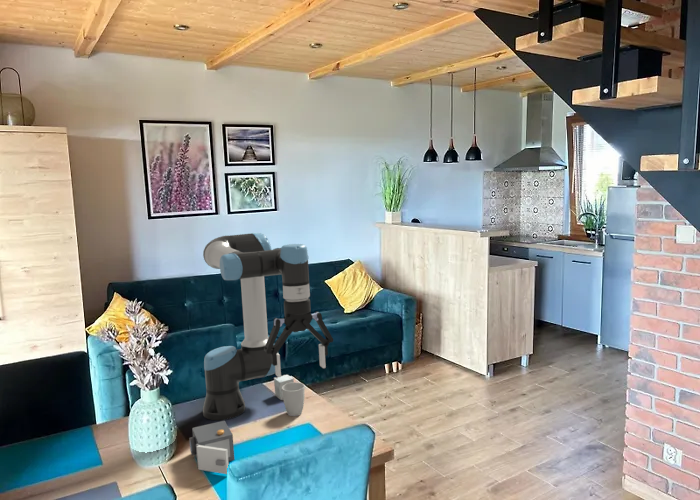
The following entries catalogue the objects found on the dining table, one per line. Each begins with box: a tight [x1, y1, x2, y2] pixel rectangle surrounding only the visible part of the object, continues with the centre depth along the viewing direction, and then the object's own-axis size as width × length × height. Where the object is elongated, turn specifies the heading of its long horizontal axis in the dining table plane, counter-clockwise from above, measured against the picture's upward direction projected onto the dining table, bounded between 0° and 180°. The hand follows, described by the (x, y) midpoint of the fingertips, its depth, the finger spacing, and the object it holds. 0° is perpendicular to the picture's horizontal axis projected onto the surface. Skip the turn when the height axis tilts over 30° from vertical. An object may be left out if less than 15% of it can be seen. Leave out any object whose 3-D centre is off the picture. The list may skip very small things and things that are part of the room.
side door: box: [196, 444, 230, 475], centre depth 148 cm, size 2×11×7 cm, turn 71°
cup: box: [282, 381, 306, 417], centre depth 187 cm, size 8×8×10 cm
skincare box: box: [273, 374, 295, 401], centre depth 203 cm, size 6×6×7 cm
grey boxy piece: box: [188, 420, 235, 462], centre depth 158 cm, size 11×12×9 cm
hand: (300, 371), depth 150 cm, fingers open, 13 cm apart
